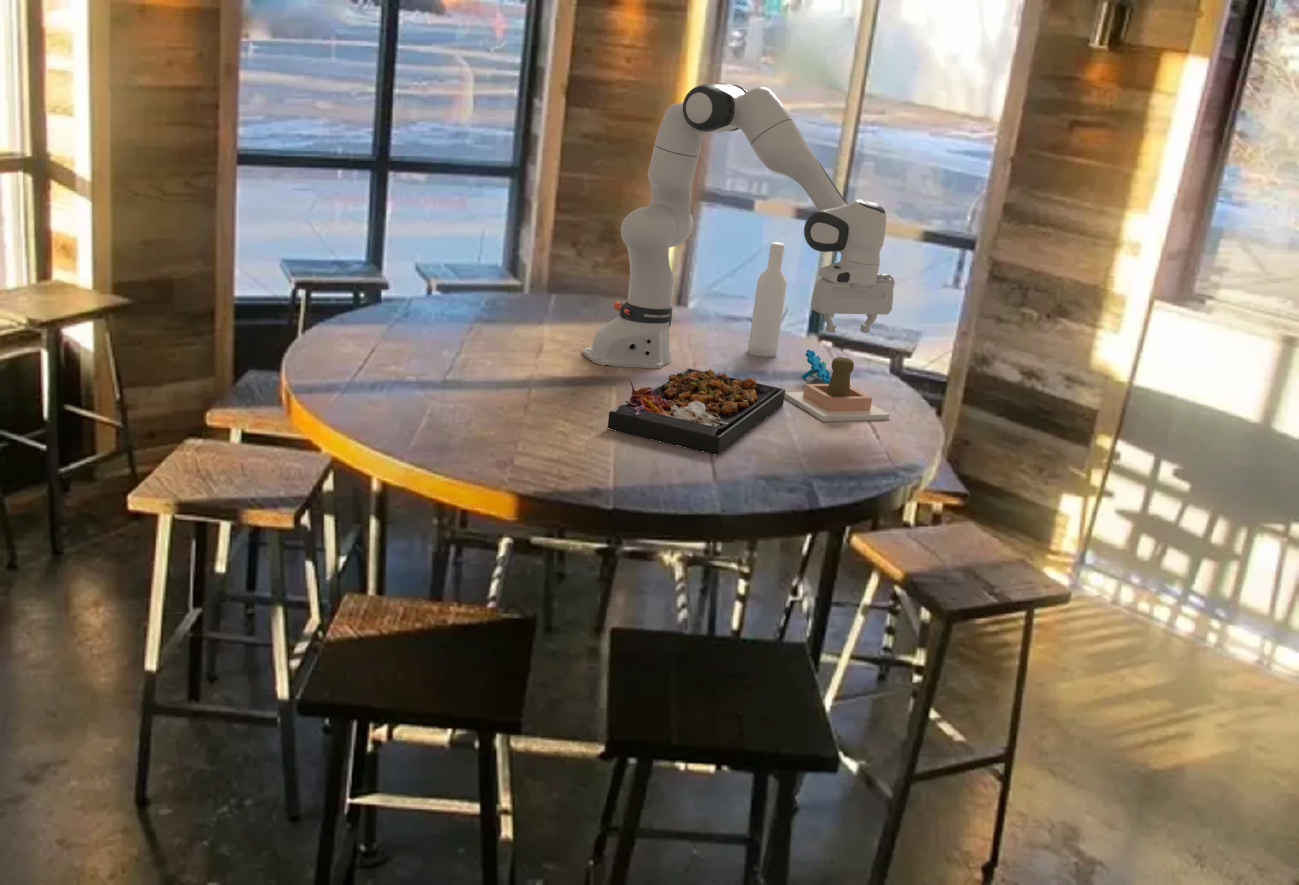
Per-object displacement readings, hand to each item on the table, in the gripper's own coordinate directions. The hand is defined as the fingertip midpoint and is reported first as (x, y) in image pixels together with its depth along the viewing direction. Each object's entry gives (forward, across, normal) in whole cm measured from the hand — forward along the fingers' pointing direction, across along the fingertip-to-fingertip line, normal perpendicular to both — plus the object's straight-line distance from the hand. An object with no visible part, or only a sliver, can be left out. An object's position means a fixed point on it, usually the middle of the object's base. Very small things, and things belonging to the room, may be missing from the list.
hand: (847, 332), depth 283 cm
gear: (+19, -8, -22) cm, 30 cm away
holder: (+18, 0, 0) cm, 18 cm away
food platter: (+20, +37, +3) cm, 42 cm away
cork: (+17, 0, 0) cm, 17 cm away
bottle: (+19, -6, -47) cm, 51 cm away
